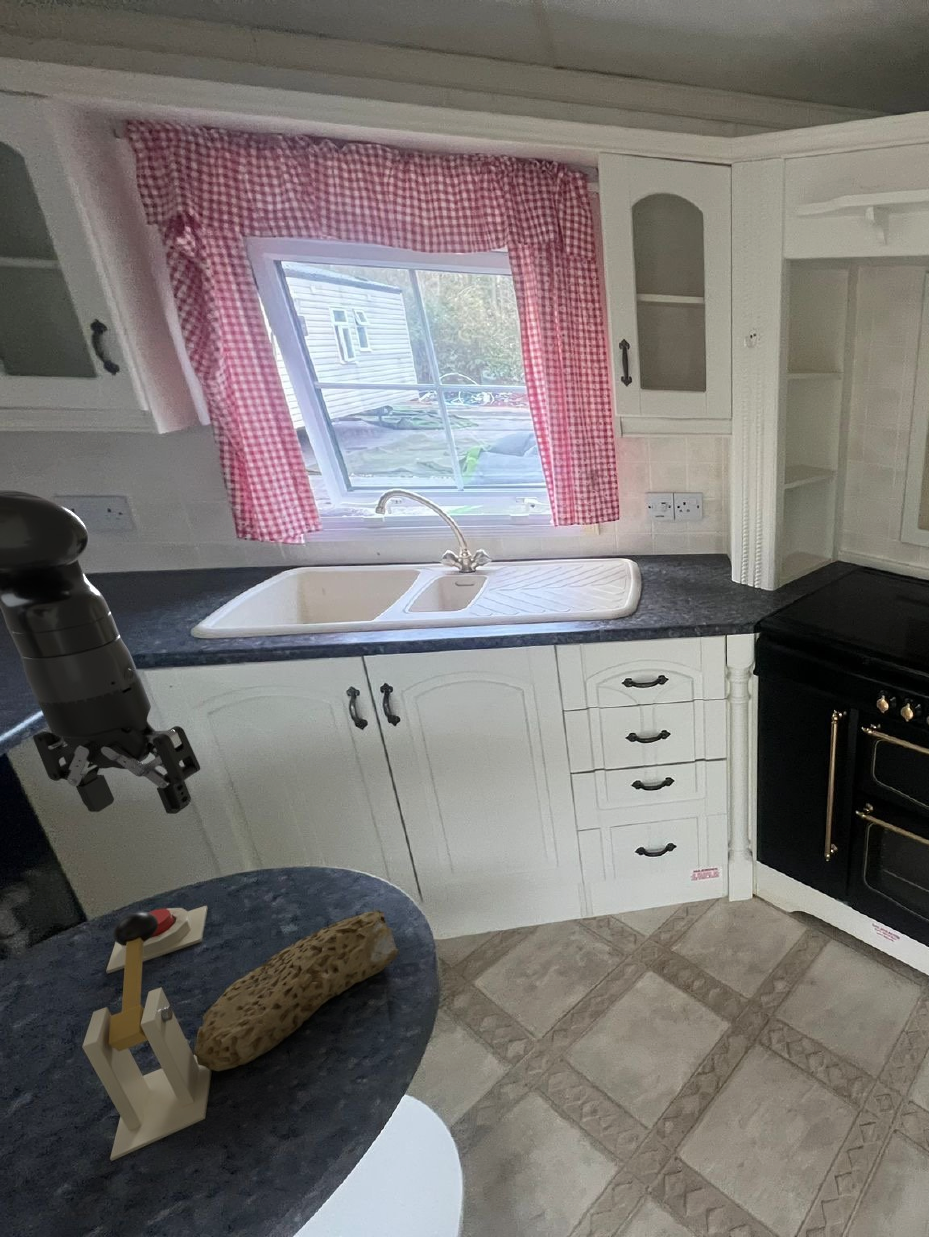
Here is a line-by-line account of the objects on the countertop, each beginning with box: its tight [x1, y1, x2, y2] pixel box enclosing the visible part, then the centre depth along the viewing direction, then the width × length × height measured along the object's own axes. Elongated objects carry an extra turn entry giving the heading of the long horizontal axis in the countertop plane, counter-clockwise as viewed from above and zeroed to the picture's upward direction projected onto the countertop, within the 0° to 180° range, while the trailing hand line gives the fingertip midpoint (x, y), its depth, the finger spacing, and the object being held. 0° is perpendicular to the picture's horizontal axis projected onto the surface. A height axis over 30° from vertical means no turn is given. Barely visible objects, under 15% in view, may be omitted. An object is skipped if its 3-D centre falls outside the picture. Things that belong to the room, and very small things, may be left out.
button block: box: [105, 905, 209, 975], centre depth 88 cm, size 9×7×3 cm
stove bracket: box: [81, 987, 213, 1162], centre depth 68 cm, size 9×7×14 cm
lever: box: [109, 911, 158, 1052], centre depth 69 cm, size 14×3×3 cm, turn 36°
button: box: [148, 908, 174, 938], centre depth 88 cm, size 4×4×2 cm
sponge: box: [192, 909, 400, 1072], centre depth 81 cm, size 13×8×20 cm
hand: (141, 808), depth 75 cm, fingers open, 8 cm apart
